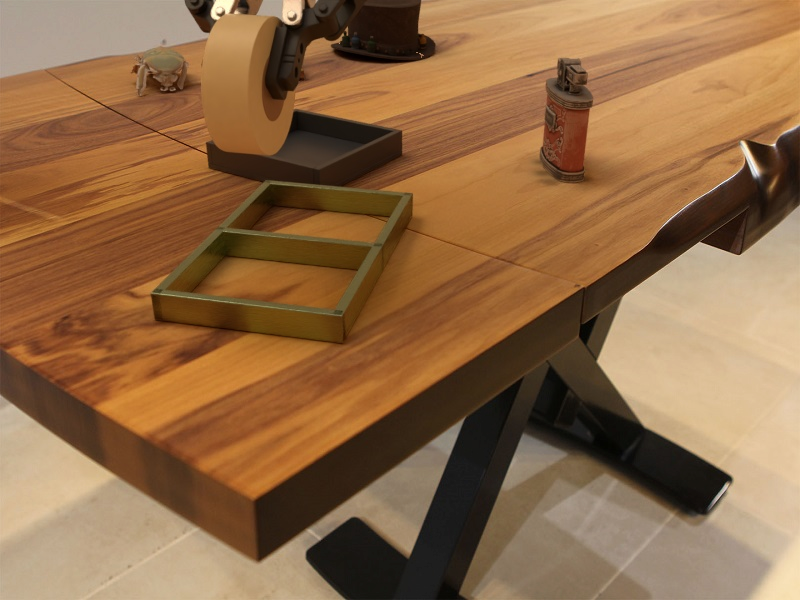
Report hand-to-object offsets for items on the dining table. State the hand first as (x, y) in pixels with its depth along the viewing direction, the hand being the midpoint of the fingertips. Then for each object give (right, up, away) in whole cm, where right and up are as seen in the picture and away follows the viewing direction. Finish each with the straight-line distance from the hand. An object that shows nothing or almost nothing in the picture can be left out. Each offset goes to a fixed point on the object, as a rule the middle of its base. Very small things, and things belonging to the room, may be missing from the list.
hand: (246, 89), depth 50 cm
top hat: (+7, +23, +73) cm, 77 cm away
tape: (0, -2, +4) cm, 4 cm away
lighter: (+24, 0, +31) cm, 39 cm away
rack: (+2, -9, +13) cm, 16 cm away
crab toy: (-21, +14, +57) cm, 62 cm away
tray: (0, +1, +32) cm, 32 cm away
